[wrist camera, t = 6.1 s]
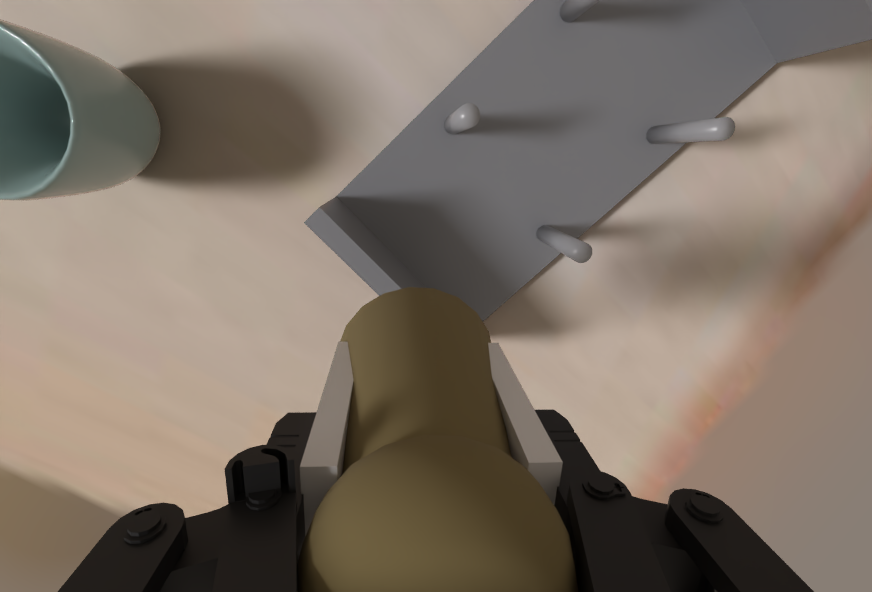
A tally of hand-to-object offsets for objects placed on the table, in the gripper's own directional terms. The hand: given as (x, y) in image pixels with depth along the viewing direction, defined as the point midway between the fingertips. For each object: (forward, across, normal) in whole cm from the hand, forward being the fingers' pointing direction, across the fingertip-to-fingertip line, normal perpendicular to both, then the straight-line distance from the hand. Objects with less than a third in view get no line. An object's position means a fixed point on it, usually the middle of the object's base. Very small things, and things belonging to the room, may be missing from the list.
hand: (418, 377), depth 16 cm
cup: (+19, -19, +8) cm, 28 cm away
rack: (+18, +10, +10) cm, 23 cm away
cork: (+2, 0, 0) cm, 2 cm away
